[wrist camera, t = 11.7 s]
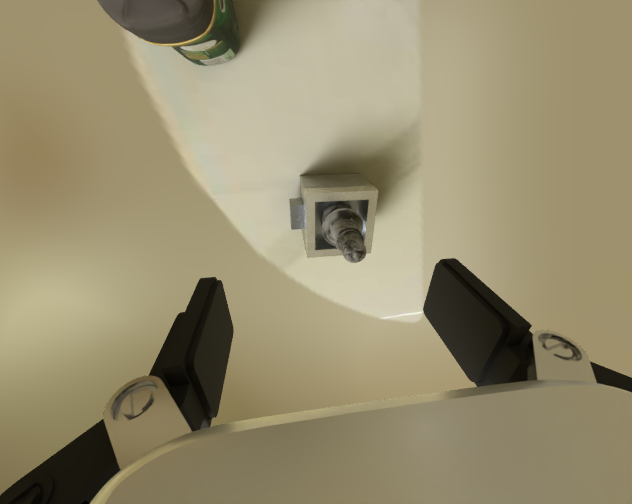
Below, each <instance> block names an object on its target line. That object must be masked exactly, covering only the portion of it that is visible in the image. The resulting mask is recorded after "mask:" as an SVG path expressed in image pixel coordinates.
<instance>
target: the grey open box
mask: <svg viewBox="0 0 632 504" xmlns="http://www.w3.org/2000/svg"><path fill="white" fill-rule="evenodd" d="M300 188H301V198H297V199H289V200H290V217H291V229H302V233H303V239H304V244H305V250H306V253H307V258H310V257H324V256H338V255H343V253H342V252H341V251H339V250H338V248H337V247H336V246H334V245H331V244H330V243H328V242H327V241H326V240H325V239H324V237H323V234H322V225H321V220H320V218H321V214H322V211H323V210H324V209H325V207H326V206H328V205H329V204H331V203H333V202H345V203H347V204H348V205H350V206H351V207H352V209H353V210H355V211H356V212H357V213H359V215H360V216H361V218H362V221H363V230H362V233H361V234H362V236H363V243H364V245H365V246H366V253H371V246H372V238H373V231H374V223H375V215H376V207H377V199H378V190H377V189H376V188H375V187H374V186H373V185H372V184H371V183H370V182H369V181H368V180H367V179H365V178H364V177H363V176H362V175H361V174H360V173H357V174H329V175H301V176H300Z"/></svg>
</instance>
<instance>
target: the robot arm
mask: <svg viewBox="0 0 632 504" xmlns="http://www.w3.org/2000/svg"><path fill="white" fill-rule="evenodd" d="M423 311H424V314H425V316H426V317H427V319H428V320H429V322H430V323H431V325H432V326H433V327H434V329H435V330H436V332H437V333H438V335H439V336H440V338H441V339H442V341H443V342H444V343H445V345H446V346H447V348H448V349H449V351H450V352H451V354H452V355H453V356H454V358H455V359H456V361H457V362H458V364H459V365H460V367H461V368H462V370H463V371H464V372H465V374H466V375H467V377H468V378H469V379H470V380H471V381H472V382H474V383H475V384H476V385H477V387H474V388H466V389H459V390H451V391H444V392H436V393H429V394H421V395H414V396H407V397H400V398H392V399H385V400H378V401H371V402H363V403H356V404H349V405H343V406H335V407H328V408H322V409H315V410H307V411H301V412H295V413H287V414H280V415H274V416H267V417H261V418H255V419H249V420H243V421H237V422H231V423H226V424H222V425H217V426H212V427H210V425H211V420H212V418H214V417H216V416H217V414H218V410H219V404H220V399H221V394H222V389H223V384H224V379H225V374H226V369H227V364H228V358H229V353H230V348H231V343H232V338H233V324H232V320H231V316H230V313H229V308H228V304H227V301H226V297H225V292H224V289H223V284H222V281H221V280H217V279H216V278H215V277H211V278H201V279H200V280H199V282H198V284H197V286H196V289H195V291H194V293H193V295H192V297H191V300H190V302H189V304H188V306H187V309H186V311H185V312H182V313H179V314H178V316H177V317H176V319H175V321H174V323H173V325H172V327H171V330H170V332H169V334H168V336H167V338H166V340H165V342H164V344H163V346H162V349H161V351H160V353H159V355H158V357H157V359H156V361H155V363H154V365H153V367H152V370H151V372H150V374H149V376H142V377H139V378H136V379H134V380H132V381H130V382H128V383H126V384H125V385H124V386H122V387H121V388H120V389H119V390H118V391H117V392H116V393H115V394H114V395H113V396H112V397H111V398H110V400H109V401H108V403H107V404H106V407H105V410H104V413H103V416H104V419H102V420H101V421H100V422H98V423H97V424H96V425H94V426H93V427H91V428H90V429H89V430H87V431H86V432H85V433H83V434H82V435H80V436H79V437H78V438H76V439H75V440H74V441H72V442H71V443H70V444H68V445H67V446H65V447H64V448H63V449H61V450H60V451H58V452H57V453H56V454H54V455H53V456H51V457H50V458H49V459H47V460H46V461H45V462H43V463H42V464H40V465H39V466H38V467H36V468H35V469H33V470H32V471H31V472H29V473H28V474H27V475H25V476H24V477H22V478H21V479H20V480H18V481H17V482H16V483H14V484H13V485H12V486H11V487H10V488H8V489H7V490H6V491H5V492H4V493H2V494H1V496H0V504H632V378H631V377H628V376H626V375H623V374H621V373H618V372H615V371H613V370H610V369H608V368H605V367H603V366H600V365H598V364H595V363H593V362H590V360H589V358H588V355H587V354H586V352H585V351H584V349H583V348H582V347H581V346H579V345H578V344H577V343H576V342H574V341H573V340H571V339H569V338H568V337H566V336H564V335H561V334H559V333H557V332H553V331H549V330H539V331H536V332H535V333H533V334H532V333H531V332H530V331H529V329H530V328H531V326H532V325H531V324H530V323H528V322H527V321H526V320H525V319H524V318H523V317H522V316H520V315H519V314H518V313H517V312H516V311H515V310H514V309H512V308H511V307H510V306H509V305H508V304H507V303H506V302H504V301H503V300H502V299H501V298H500V297H499V296H498V295H497V294H495V293H494V292H493V291H492V290H491V289H490V288H489V287H487V286H486V285H485V284H484V283H483V282H482V281H481V280H480V279H478V278H477V277H476V276H475V275H474V274H473V273H472V272H470V271H469V270H468V269H467V268H466V267H465V266H464V265H462V264H461V263H460V262H459V261H458V260H456V259H454V258H452V259H442V260H440V261H439V263H437V264H436V265H435V269H434V272H433V276H432V279H431V283H430V286H429V290H428V293H427V297H426V300H425V304H424V308H423Z"/></svg>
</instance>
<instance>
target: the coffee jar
mask: <svg viewBox="0 0 632 504" xmlns="http://www.w3.org/2000/svg"><path fill="white" fill-rule="evenodd" d="M98 2H99V4H100V5H101V6H102V8H103V9H104V10H105V12H106V13H107V14H108V15H109V16H110V17H111V18H112V19H113V20H114V21H115V22H117V23H118V24H119V25H120V26H122V27H123V28H125V29H126V30H128V31H130V32H132V33H133V34H135V35H136V36H137V37H139V38H140V39H142V40H144V41H146V42H148V43H151V44H154V45H159V46H171V47H173V48H174V49H175V50H176V51H177V52H179V53H180V54H181V55H183V56H184V57H185V58H186V59H188V60H190V61H191V62H193V63H195V64H198V65H203V66H209V65H218V64H222V63H225V62H227V61H229V60H231V59H232V58H233V57H234V56H235V55H236V53H237V51H238V48H239V33H238V26H237V20H236V16H235V11H234V7H233V3H232V0H98Z"/></svg>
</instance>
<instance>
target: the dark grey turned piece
mask: <svg viewBox="0 0 632 504" xmlns="http://www.w3.org/2000/svg"><path fill="white" fill-rule="evenodd" d="M320 220H321V225H322V234H323V237H324V239H325V240H326V241H327V242H328V243H330V244H331V245H334V246H336V247H337V248H338V250H339V251H341V252H342V253H343V256H344V258H345V259H346V260H347V261H349V262H351V263H356V262H360V261H361V260H363V259H364V257H365V256H366V246H365V245H364V243H363V236H362V234H361V233H362V230H363V221H362V218H361V216H360V215H359V213H357V212H356V211H355V210H353V209H352V207H351V206H350V205H348V204H347V203H345V202H333V203H331V204H329V205H328V206H326V207H325V209H324V210H323V211H322V214H321V218H320Z"/></svg>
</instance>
